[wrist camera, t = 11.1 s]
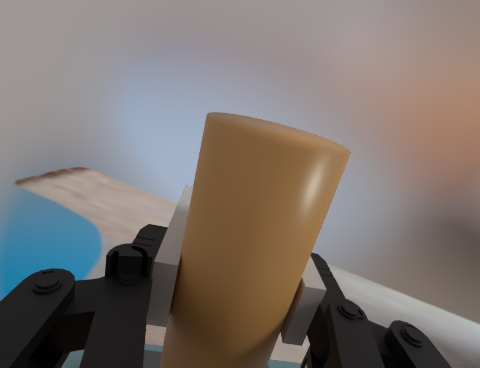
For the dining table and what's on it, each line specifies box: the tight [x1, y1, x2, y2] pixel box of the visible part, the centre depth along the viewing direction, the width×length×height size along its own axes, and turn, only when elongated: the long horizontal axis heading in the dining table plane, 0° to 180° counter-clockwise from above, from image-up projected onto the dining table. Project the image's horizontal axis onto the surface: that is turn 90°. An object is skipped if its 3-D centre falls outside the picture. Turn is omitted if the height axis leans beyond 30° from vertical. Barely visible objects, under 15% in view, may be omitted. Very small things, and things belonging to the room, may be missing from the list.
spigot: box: [159, 112, 351, 368], centre depth 10 cm, size 4×4×14 cm
